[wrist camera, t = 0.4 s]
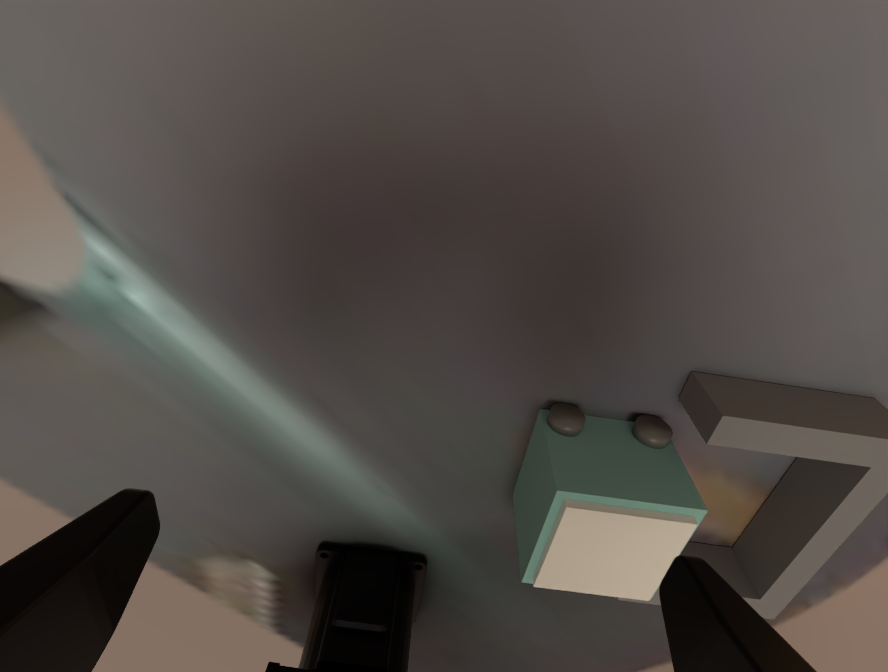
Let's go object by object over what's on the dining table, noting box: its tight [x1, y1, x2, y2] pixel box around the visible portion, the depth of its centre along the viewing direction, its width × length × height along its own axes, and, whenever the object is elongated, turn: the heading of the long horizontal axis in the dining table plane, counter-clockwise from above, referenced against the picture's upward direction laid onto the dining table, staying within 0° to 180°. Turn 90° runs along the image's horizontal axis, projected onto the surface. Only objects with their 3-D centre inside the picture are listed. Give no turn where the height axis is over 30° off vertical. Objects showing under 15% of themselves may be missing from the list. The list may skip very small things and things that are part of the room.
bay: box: [616, 372, 888, 619], centre depth 23 cm, size 12×8×3 cm
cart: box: [512, 403, 708, 601], centre depth 22 cm, size 7×6×5 cm
